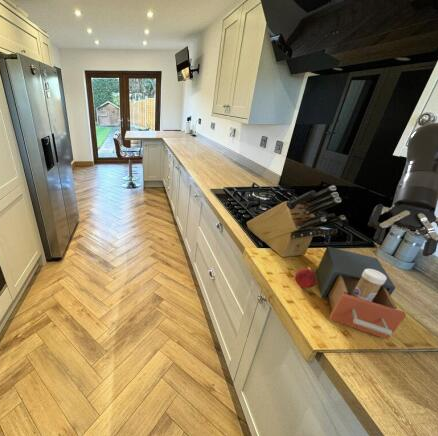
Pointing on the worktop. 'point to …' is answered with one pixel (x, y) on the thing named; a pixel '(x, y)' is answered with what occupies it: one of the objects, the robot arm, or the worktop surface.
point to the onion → (305, 278)
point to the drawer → (363, 309)
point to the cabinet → (346, 268)
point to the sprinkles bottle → (369, 284)
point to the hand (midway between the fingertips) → (401, 248)
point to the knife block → (296, 222)
